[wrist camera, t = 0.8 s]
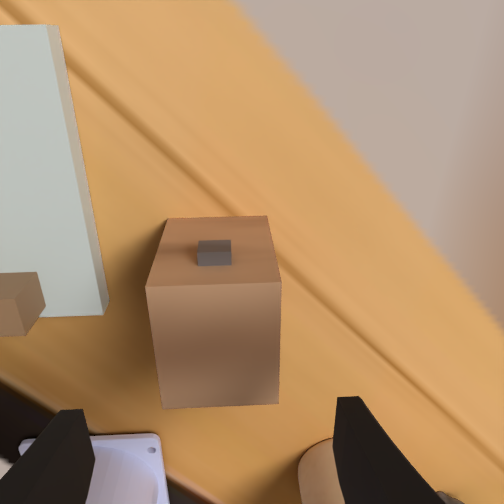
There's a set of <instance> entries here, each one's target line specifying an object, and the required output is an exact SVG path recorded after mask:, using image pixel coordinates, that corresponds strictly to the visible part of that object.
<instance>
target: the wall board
mask: <svg viewBox="0 0 504 504" xmlns="http://www.w3.org/2000/svg"><path fill="white" fill-rule="evenodd" d="M109 301H110V300H109V294H108V289H107V284H106V278H105V273H104V268H103V262H102V257H101V252H100V246H99V241H98V235H97V230H96V225H95V219H94V214H93V209H92V203H91V198H90V193H89V187H88V182H87V177H86V171H85V166H84V160H83V155H82V150H81V144H80V139H79V134H78V128H77V123H76V118H75V112H74V107H73V102H72V96H71V91H70V85H69V80H68V75H67V69H66V64H65V59H64V53H63V48H62V43H61V37H60V32H59V27H58V26H57V25H0V337H6V336H26V335H27V333H28V332H29V330H30V329H31V327H32V326H33V325H34V323H35V322H36V320H37V319H38V317H60V316H88V315H104V312H105V310H106V308H107V306H108V304H109Z"/></svg>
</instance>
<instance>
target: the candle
mask: <svg viewBox="0 0 504 504" xmlns="http://www.w3.org/2000/svg"><path fill="white" fill-rule="evenodd" d="M332 445H333V438H332V439H328V440H325V441H323V442H320V443H318V444H316V445H315V446H313V447H312V448H310V449H309V450H308V451H307V452H306V453H305V454H304V455H303V457H302V458H301V460H300V462H299V465H298V480H299V487H300V494H301V500H302V504H345V501H344V498H343V495H342V491H341V488H340V485H339V480H338V475H337V470H336V464H335V459H334V453H333V448H332Z"/></svg>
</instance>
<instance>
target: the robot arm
mask: <svg viewBox="0 0 504 504" xmlns="http://www.w3.org/2000/svg"><path fill="white" fill-rule="evenodd" d="M152 447H153V448H152ZM332 448H333V453H334V459H335V464H336V470H337V475H338V480H339V485H340V488H341V491H342V495H343V498H344V501H345V504H446V503H445V502H444V500H443V499H442V498H441V497H440V496H439V495H438V494H437V493H436V492H435V491H434V490H433V489H432V488H431V486H430V485H429V484H428V483H427V482H426V481H425V480H424V479H423V478H422V476H421V475H420V474H419V473H418V472H417V471H416V469H415V468H414V467H413V466H412V465H411V464H410V462H409V461H408V460H407V459H406V457H405V456H404V455H403V454H402V453H401V451H400V450H399V449H398V448H397V446H396V445H395V444H394V443H393V441H392V440H391V439H390V438H389V436H388V435H387V434H386V432H385V431H384V430H383V428H382V427H381V426H380V424H379V423H378V422H377V420H376V419H375V417H374V416H373V415H372V413H371V412H370V410H369V409H368V408H367V406H366V405H365V403H364V402H363V400H362V399H361V398H360V397H359V396H354V397H337V406H336V416H335V426H334V435H333V445H332ZM19 452H20V455H21V457H20V458H19V459H18V460H17V461H16V463H15V464H14V465H13V466H12V467H11V468H10V469H9V470H8V472H7V473H6V474H5V475H4V476H3V477H2V478H1V479H0V504H170V502H169V495H168V489H167V482H166V476H165V469H164V462H163V456H162V449H161V442H160V438H159V436H158V435H156V434H154V433H145V434H123V435H102V436H90V435H89V431H88V427H87V424H86V420H85V416H84V412H83V409H73V410H60V411H59V412H58V413H57V415H56V416H55V417H54V418H53V419H52V420H51V422H50V423H49V424H48V425H47V426H46V428H45V429H44V430H43V431H42V432H41V433H40V435H39V436H38V437H37V438H36V439H26V440H23V441H22V442H21V444H20V446H19Z"/></svg>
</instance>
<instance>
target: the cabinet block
mask: <svg viewBox="0 0 504 504" xmlns="http://www.w3.org/2000/svg"><path fill="white" fill-rule="evenodd" d="M281 284H282V282H281V277H280V273H279V268H278V264H277V259H276V255H275V250H274V245H273V241H272V236H271V232H270V227H269V223H268V218H267V216H240V217H204V218H168V220H167V223H166V226H165V229H164V232H163V235H162V238H161V241H160V244H159V247H158V250H157V253H156V256H155V259H154V262H153V265H152V268H151V271H150V274H149V277H148V280H147V283H146V286H145V290H146V297H147V304H148V311H149V318H150V325H151V332H152V339H153V346H154V353H155V361H156V368H157V375H158V382H159V389H160V396H161V403H162V409H178V408H200V407H222V406H244V405H266V404H279V367H280V326H281Z"/></svg>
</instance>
